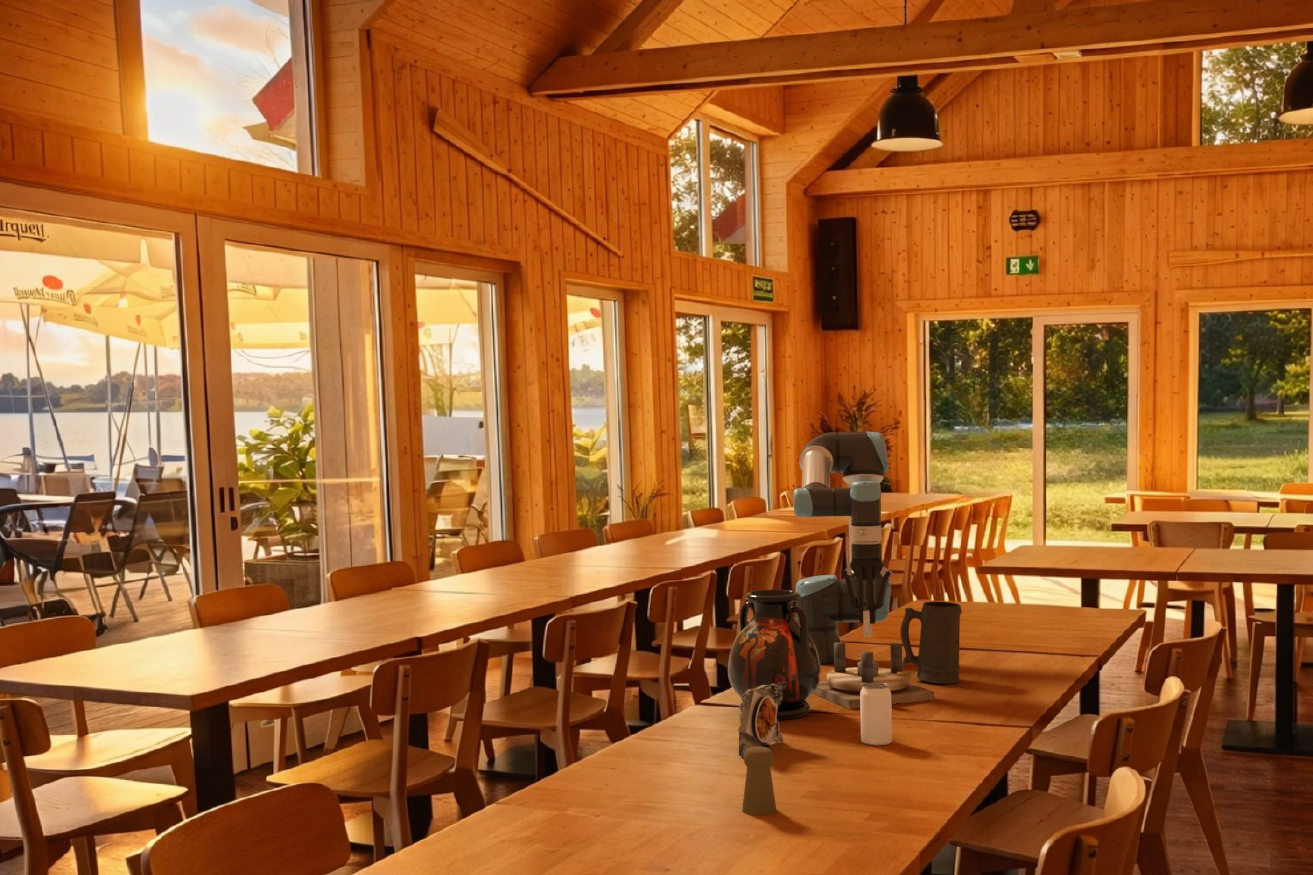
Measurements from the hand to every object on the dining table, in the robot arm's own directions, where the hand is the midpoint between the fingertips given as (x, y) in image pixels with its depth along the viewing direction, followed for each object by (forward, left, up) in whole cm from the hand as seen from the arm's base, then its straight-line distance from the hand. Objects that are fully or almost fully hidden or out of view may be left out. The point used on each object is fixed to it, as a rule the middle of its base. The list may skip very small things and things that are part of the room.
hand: (868, 636), depth 325 cm
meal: (+44, -49, -13) cm, 67 cm away
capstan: (+7, -4, -10) cm, 13 cm away
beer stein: (-1, +19, -13) cm, 23 cm away
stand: (+7, -4, -13) cm, 15 cm away
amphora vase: (+15, -33, -13) cm, 38 cm away
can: (+48, -25, -13) cm, 55 cm away
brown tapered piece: (+81, -67, -13) cm, 105 cm away
